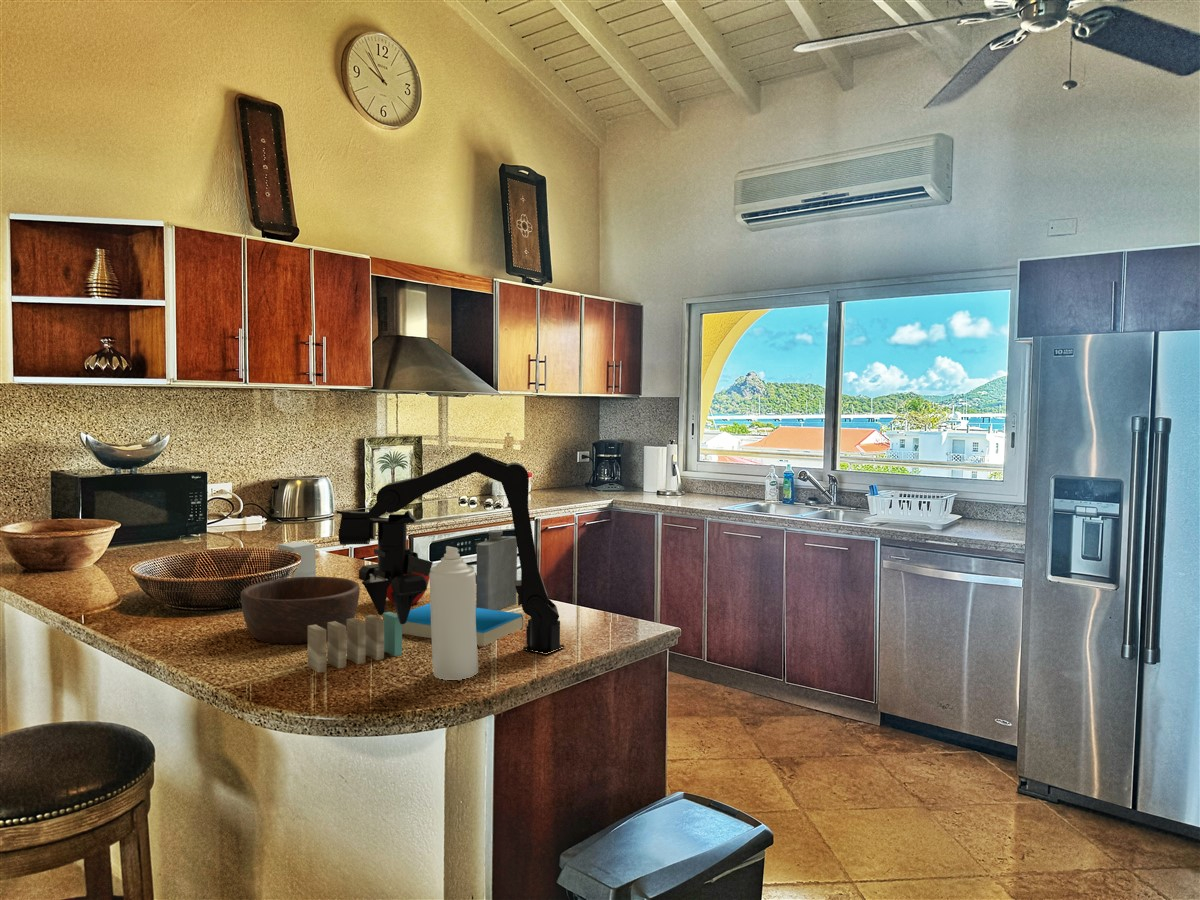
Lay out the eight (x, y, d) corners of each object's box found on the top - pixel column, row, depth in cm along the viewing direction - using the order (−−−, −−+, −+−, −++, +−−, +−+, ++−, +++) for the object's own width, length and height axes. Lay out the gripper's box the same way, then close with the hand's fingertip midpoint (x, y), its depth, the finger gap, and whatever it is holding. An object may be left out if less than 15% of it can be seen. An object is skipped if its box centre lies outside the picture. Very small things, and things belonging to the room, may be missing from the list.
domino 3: (354, 656, 165) (354, 617, 164) (365, 662, 161) (365, 622, 160) (346, 658, 163) (346, 619, 163) (357, 664, 160) (357, 624, 159)
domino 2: (335, 660, 162) (335, 621, 161) (346, 666, 158) (346, 626, 158) (327, 662, 161) (327, 622, 160) (338, 668, 157) (338, 627, 157)
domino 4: (372, 653, 167) (372, 614, 167) (384, 658, 164) (384, 619, 163) (365, 654, 166) (365, 615, 166) (376, 660, 162) (376, 620, 162)
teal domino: (395, 656, 165) (394, 617, 165) (383, 650, 169) (383, 612, 168) (402, 654, 166) (402, 616, 166) (390, 649, 170) (389, 611, 169)
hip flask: (484, 616, 198) (485, 535, 197) (470, 614, 199) (471, 534, 198) (518, 603, 212) (519, 527, 211) (505, 601, 214) (506, 526, 213)
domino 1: (315, 664, 159) (315, 624, 159) (326, 670, 155) (326, 629, 155) (307, 666, 158) (307, 625, 158) (318, 672, 154) (318, 631, 154)
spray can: (493, 679, 152) (494, 547, 151) (441, 690, 146) (441, 552, 145) (466, 663, 161) (467, 538, 160) (415, 672, 155) (416, 543, 154)
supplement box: (300, 584, 230) (300, 540, 230) (316, 588, 226) (316, 543, 225) (277, 589, 224) (276, 543, 224) (292, 593, 220) (292, 546, 219)
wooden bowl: (226, 651, 168) (225, 601, 167) (257, 619, 192) (257, 577, 192) (351, 647, 171) (351, 599, 171) (366, 617, 196) (366, 575, 196)
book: (484, 631, 172) (389, 615, 182) (484, 651, 173) (389, 634, 183) (524, 613, 188) (434, 599, 198) (523, 631, 188) (434, 617, 198)
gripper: (450, 546, 165) (449, 622, 166) (405, 535, 179) (404, 605, 179) (400, 552, 157) (400, 631, 158) (357, 539, 171) (357, 612, 172)
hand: (392, 619), depth 167 cm, fingers open, 9 cm apart
